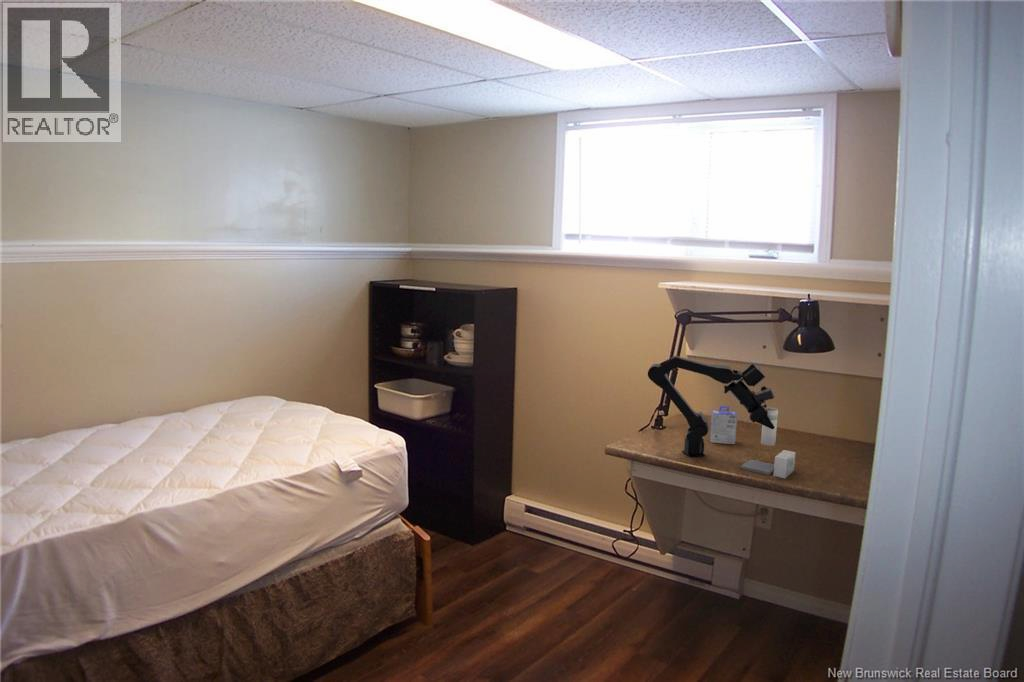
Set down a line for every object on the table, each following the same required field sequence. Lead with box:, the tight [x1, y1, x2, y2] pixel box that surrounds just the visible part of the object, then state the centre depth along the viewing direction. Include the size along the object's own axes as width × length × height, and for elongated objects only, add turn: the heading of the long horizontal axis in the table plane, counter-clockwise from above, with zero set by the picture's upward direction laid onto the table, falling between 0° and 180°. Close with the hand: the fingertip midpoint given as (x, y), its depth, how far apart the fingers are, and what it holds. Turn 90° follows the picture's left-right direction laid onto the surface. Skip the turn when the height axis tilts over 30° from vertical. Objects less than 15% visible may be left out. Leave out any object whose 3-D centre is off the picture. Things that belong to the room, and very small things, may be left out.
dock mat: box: [740, 459, 774, 476], centre depth 254 cm, size 10×10×1 cm
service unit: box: [773, 449, 796, 479], centre depth 249 cm, size 4×10×7 cm, turn 143°
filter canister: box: [760, 407, 779, 447], centre depth 260 cm, size 5×5×13 cm
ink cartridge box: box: [709, 405, 738, 445], centre depth 285 cm, size 10×6×14 cm, turn 78°
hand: (773, 426), depth 259 cm, fingers closed on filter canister, 5 cm apart
